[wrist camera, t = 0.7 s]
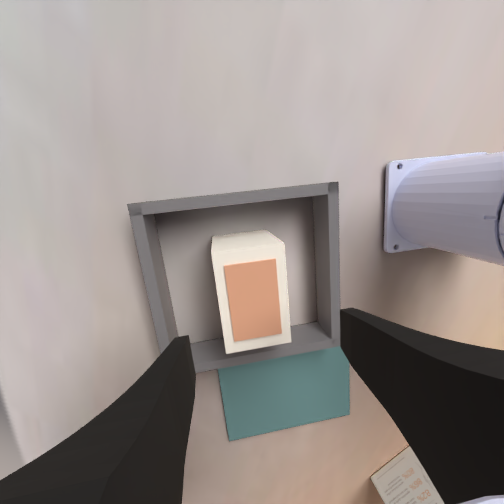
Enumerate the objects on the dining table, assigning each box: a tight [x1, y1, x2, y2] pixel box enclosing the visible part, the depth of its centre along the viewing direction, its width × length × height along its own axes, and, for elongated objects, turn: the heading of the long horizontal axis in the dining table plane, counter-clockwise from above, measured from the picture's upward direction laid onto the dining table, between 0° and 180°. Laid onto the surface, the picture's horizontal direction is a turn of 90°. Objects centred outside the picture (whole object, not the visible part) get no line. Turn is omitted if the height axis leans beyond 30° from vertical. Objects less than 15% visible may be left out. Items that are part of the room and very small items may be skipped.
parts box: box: [211, 230, 291, 354], centre depth 19 cm, size 4×7×6 cm, turn 6°
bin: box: [127, 182, 340, 373], centre depth 20 cm, size 15×14×3 cm
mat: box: [218, 346, 350, 441], centre depth 25 cm, size 13×9×1 cm
